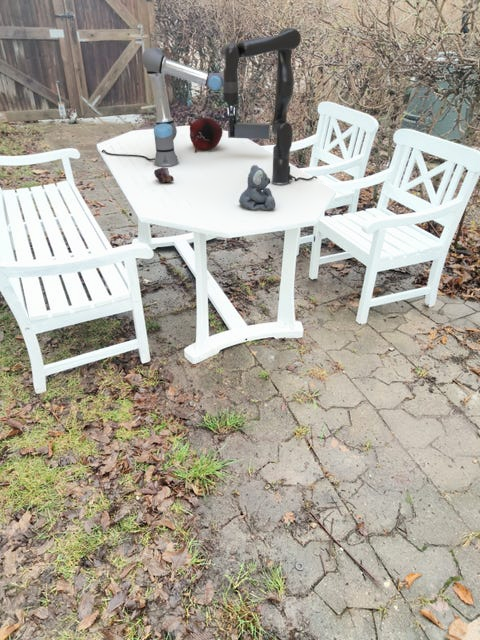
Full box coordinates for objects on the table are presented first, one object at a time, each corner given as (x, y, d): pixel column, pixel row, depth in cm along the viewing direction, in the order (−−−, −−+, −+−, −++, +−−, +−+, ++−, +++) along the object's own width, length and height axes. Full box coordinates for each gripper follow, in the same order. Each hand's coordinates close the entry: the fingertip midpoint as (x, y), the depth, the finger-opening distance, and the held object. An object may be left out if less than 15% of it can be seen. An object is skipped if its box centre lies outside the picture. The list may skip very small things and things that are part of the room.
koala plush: (276, 211, 223) (277, 171, 212) (240, 212, 222) (240, 172, 211) (271, 199, 237) (272, 161, 226) (237, 200, 236) (237, 162, 225)
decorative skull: (188, 123, 330) (185, 120, 306) (219, 116, 329) (218, 112, 306) (194, 153, 337) (192, 152, 313) (225, 146, 336) (225, 145, 313)
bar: (228, 137, 296) (227, 123, 292) (229, 136, 300) (229, 122, 295) (268, 139, 292) (269, 124, 287) (270, 137, 295) (270, 123, 290)
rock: (168, 180, 269) (152, 182, 265) (166, 165, 265) (150, 167, 261) (175, 182, 260) (159, 184, 256) (174, 166, 256) (157, 168, 252)
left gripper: (235, 99, 276) (235, 139, 290) (241, 94, 290) (241, 133, 304) (223, 98, 278) (224, 138, 291) (229, 94, 292) (230, 132, 305)
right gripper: (238, 93, 218) (239, 128, 227) (237, 89, 230) (238, 122, 239) (223, 93, 218) (224, 128, 227) (223, 89, 230) (223, 123, 239)
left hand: (233, 135), depth 297 cm, fingers closed on bar, 4 cm apart
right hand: (231, 125), depth 233 cm, fingers open, 8 cm apart
